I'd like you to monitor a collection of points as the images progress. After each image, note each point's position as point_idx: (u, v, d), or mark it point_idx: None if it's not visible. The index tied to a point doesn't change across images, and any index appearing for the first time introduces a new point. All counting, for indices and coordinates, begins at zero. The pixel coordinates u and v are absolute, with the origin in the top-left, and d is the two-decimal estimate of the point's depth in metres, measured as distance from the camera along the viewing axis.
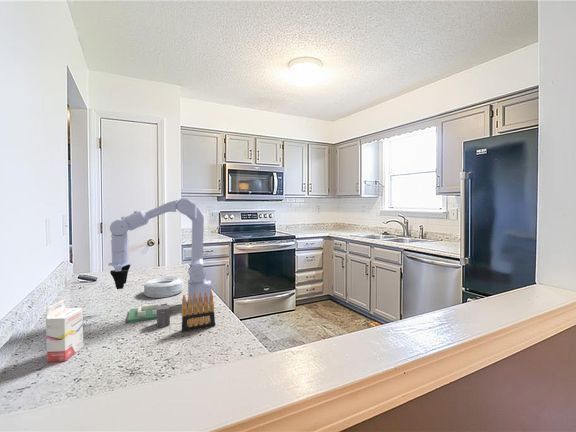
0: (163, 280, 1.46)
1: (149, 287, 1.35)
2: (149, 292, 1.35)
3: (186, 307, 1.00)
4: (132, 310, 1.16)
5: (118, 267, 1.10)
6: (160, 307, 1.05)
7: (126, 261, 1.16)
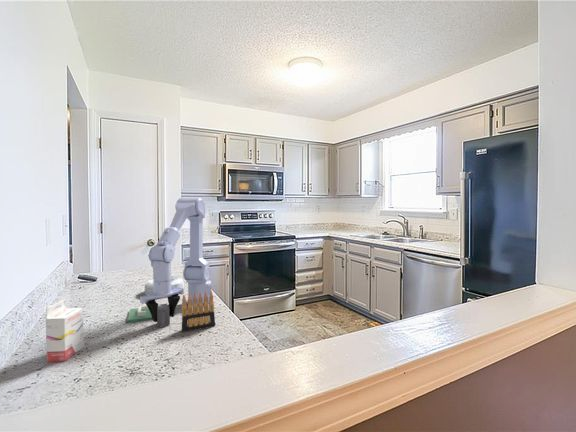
0: None
1: (150, 287, 1.36)
2: (150, 292, 1.35)
3: (186, 307, 1.00)
4: (132, 310, 1.16)
5: (141, 299, 0.99)
6: (160, 307, 1.05)
7: (160, 293, 1.02)
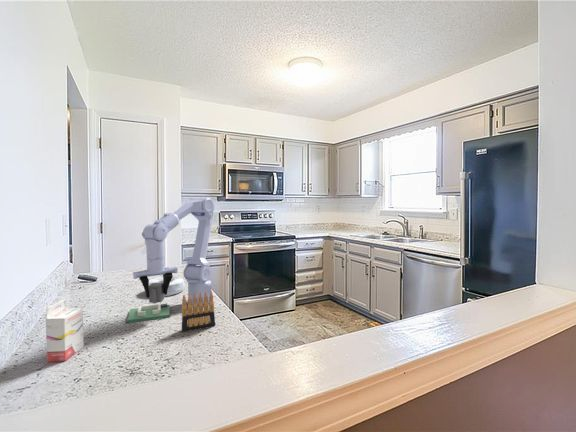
0: None
1: None
2: None
3: (186, 307, 1.00)
4: (132, 310, 1.16)
5: (133, 274, 1.04)
6: (153, 284, 1.09)
7: (151, 270, 1.06)
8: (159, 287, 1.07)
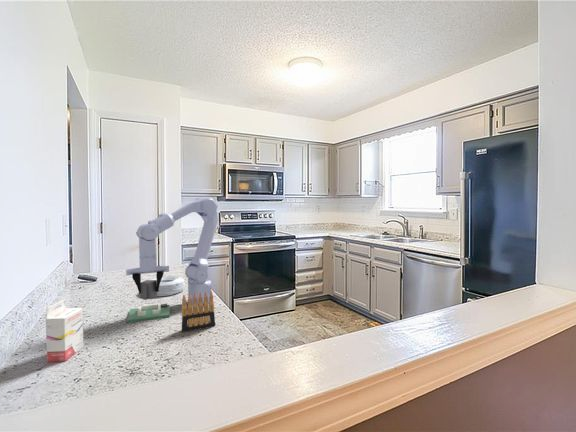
0: (164, 279, 1.48)
1: None
2: None
3: (186, 307, 1.00)
4: (132, 310, 1.16)
5: (126, 271, 1.11)
6: (146, 281, 1.14)
7: (142, 268, 1.11)
8: (149, 284, 1.12)
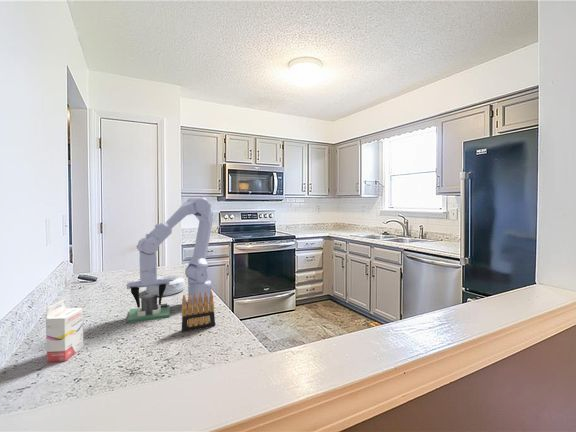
0: None
1: (151, 286, 1.37)
2: (151, 290, 1.37)
3: (186, 307, 1.00)
4: (132, 310, 1.16)
5: None
6: (146, 296, 1.15)
7: (143, 281, 1.11)
8: (150, 299, 1.12)
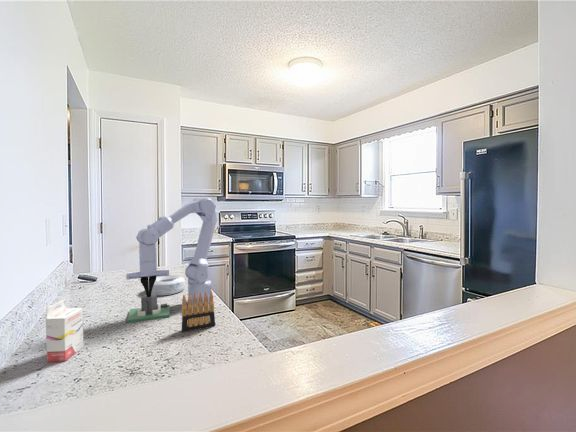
0: (165, 278, 1.49)
1: None
2: (152, 290, 1.38)
3: (186, 307, 1.00)
4: (132, 310, 1.16)
5: None
6: (146, 296, 1.15)
7: (142, 272, 1.11)
8: (150, 299, 1.12)
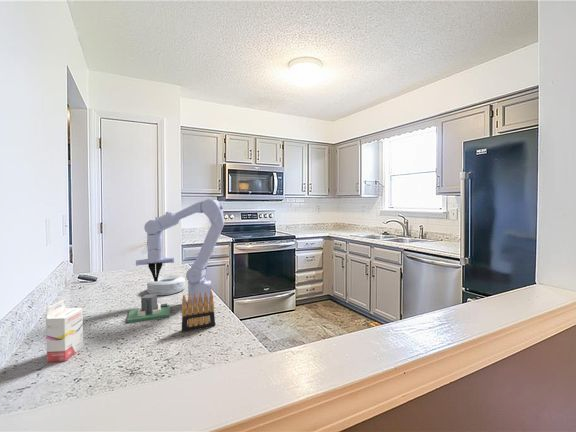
0: (165, 278, 1.49)
1: (152, 285, 1.38)
2: (152, 290, 1.38)
3: (186, 307, 1.00)
4: (132, 310, 1.16)
5: None
6: (146, 296, 1.15)
7: (150, 259, 1.24)
8: (150, 299, 1.12)
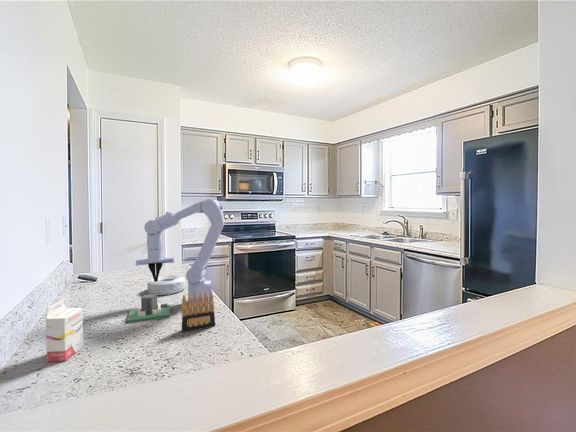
0: (166, 278, 1.49)
1: (152, 285, 1.39)
2: (152, 290, 1.38)
3: (186, 307, 1.00)
4: (132, 310, 1.16)
5: None
6: (146, 296, 1.15)
7: (150, 259, 1.24)
8: (150, 299, 1.12)
